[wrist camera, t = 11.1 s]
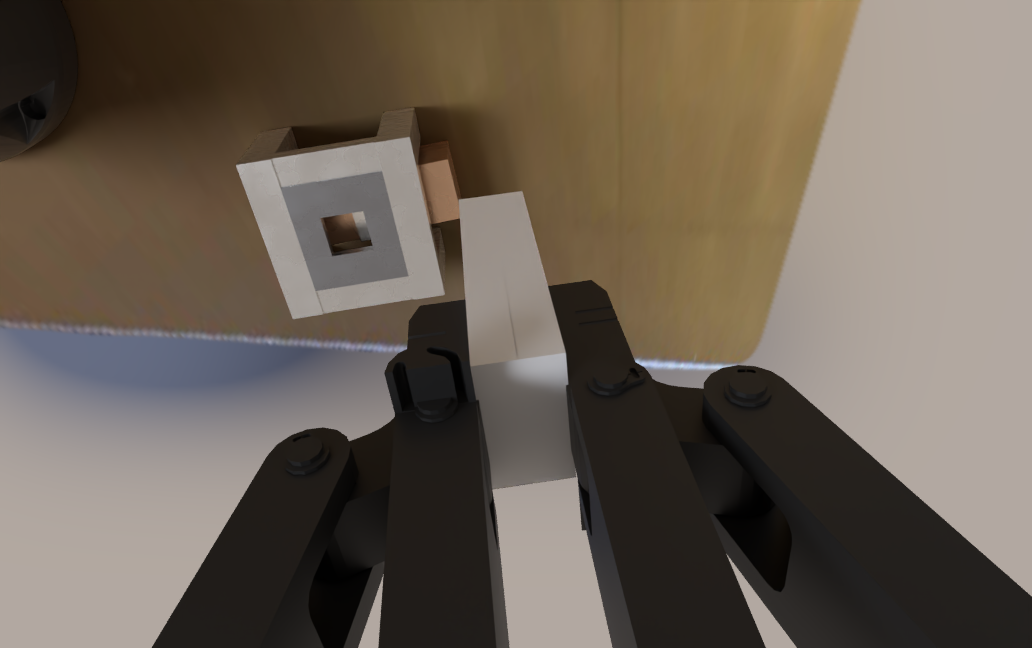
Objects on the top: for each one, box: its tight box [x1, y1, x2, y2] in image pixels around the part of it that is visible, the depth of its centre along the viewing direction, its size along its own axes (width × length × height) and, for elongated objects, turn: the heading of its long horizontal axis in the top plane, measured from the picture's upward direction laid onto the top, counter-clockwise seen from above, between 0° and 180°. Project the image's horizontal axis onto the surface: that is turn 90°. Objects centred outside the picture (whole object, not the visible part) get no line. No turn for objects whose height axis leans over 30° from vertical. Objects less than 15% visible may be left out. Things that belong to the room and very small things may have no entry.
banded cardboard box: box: [323, 140, 461, 245], centre depth 46 cm, size 12×4×4 cm, turn 101°
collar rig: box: [236, 107, 445, 319], centre depth 45 cm, size 10×10×6 cm
